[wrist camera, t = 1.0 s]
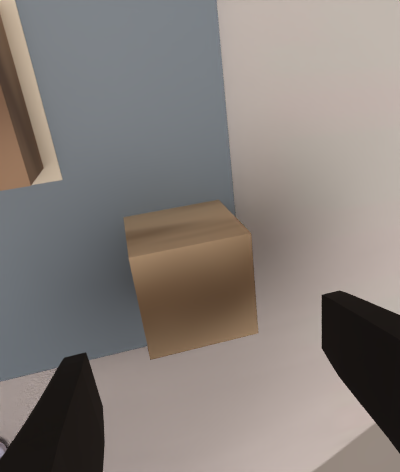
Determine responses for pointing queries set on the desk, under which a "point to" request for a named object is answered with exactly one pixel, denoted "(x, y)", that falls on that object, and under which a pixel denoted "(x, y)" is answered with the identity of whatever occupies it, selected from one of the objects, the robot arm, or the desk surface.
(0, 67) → the walnut slab
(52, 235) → the board
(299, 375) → the desk surface
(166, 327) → the oak cube
